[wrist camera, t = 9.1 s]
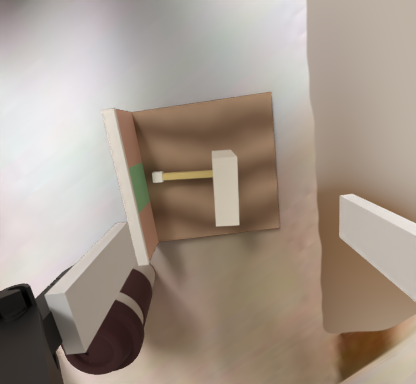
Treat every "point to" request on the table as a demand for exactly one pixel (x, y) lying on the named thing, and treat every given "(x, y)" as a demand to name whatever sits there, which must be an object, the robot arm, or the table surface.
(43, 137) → the table surface
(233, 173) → the white block with rod
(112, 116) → the scale wall
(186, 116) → the board
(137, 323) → the coffee cup
